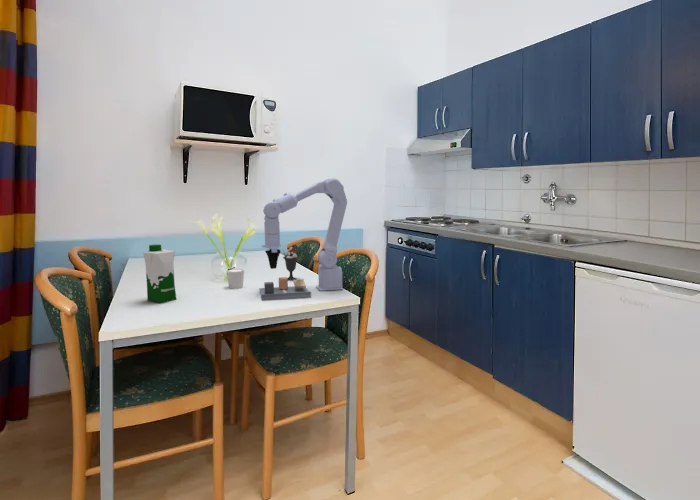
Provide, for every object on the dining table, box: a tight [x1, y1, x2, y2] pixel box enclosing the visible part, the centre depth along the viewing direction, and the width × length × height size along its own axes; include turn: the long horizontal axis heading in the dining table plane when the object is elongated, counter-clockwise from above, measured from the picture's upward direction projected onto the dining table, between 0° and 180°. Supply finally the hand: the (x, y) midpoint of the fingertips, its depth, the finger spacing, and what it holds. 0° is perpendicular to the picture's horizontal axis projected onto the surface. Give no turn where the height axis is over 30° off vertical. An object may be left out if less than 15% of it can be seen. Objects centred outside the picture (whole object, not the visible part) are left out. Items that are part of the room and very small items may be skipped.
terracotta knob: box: [278, 276, 289, 289], centre depth 169 cm, size 3×3×4 cm
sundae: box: [282, 245, 299, 281], centre depth 193 cm, size 7×7×15 cm
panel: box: [259, 285, 312, 302], centre depth 166 cm, size 18×15×3 cm
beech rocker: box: [292, 278, 307, 288], centre depth 168 cm, size 4×6×1 cm, turn 15°
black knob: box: [263, 281, 275, 294], centre depth 160 cm, size 3×3×4 cm
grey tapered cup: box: [226, 268, 245, 290], centre depth 177 cm, size 7×7×7 cm
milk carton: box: [142, 244, 177, 304], centre depth 156 cm, size 9×9×20 cm
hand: (273, 268), depth 169 cm, fingers closed
